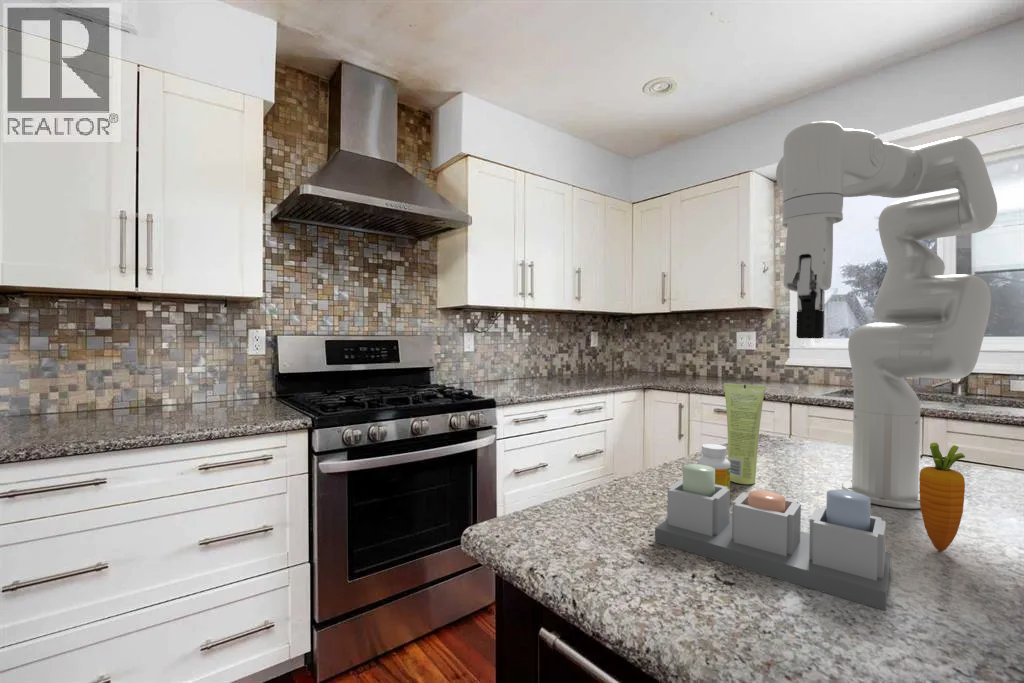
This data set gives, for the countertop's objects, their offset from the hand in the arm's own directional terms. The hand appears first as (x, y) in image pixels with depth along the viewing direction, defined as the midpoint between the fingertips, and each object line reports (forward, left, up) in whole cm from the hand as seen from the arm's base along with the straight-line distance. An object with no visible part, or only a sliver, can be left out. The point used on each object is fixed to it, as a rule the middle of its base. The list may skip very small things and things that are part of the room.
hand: (809, 337), depth 71 cm
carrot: (-5, +15, -29) cm, 33 cm away
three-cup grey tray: (+12, -3, -29) cm, 31 cm away
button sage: (+11, -12, -24) cm, 29 cm away
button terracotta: (+12, -3, -26) cm, 29 cm away
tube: (-20, -14, -29) cm, 38 cm away
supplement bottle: (-5, -15, -29) cm, 33 cm away
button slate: (+12, +6, -24) cm, 27 cm away
